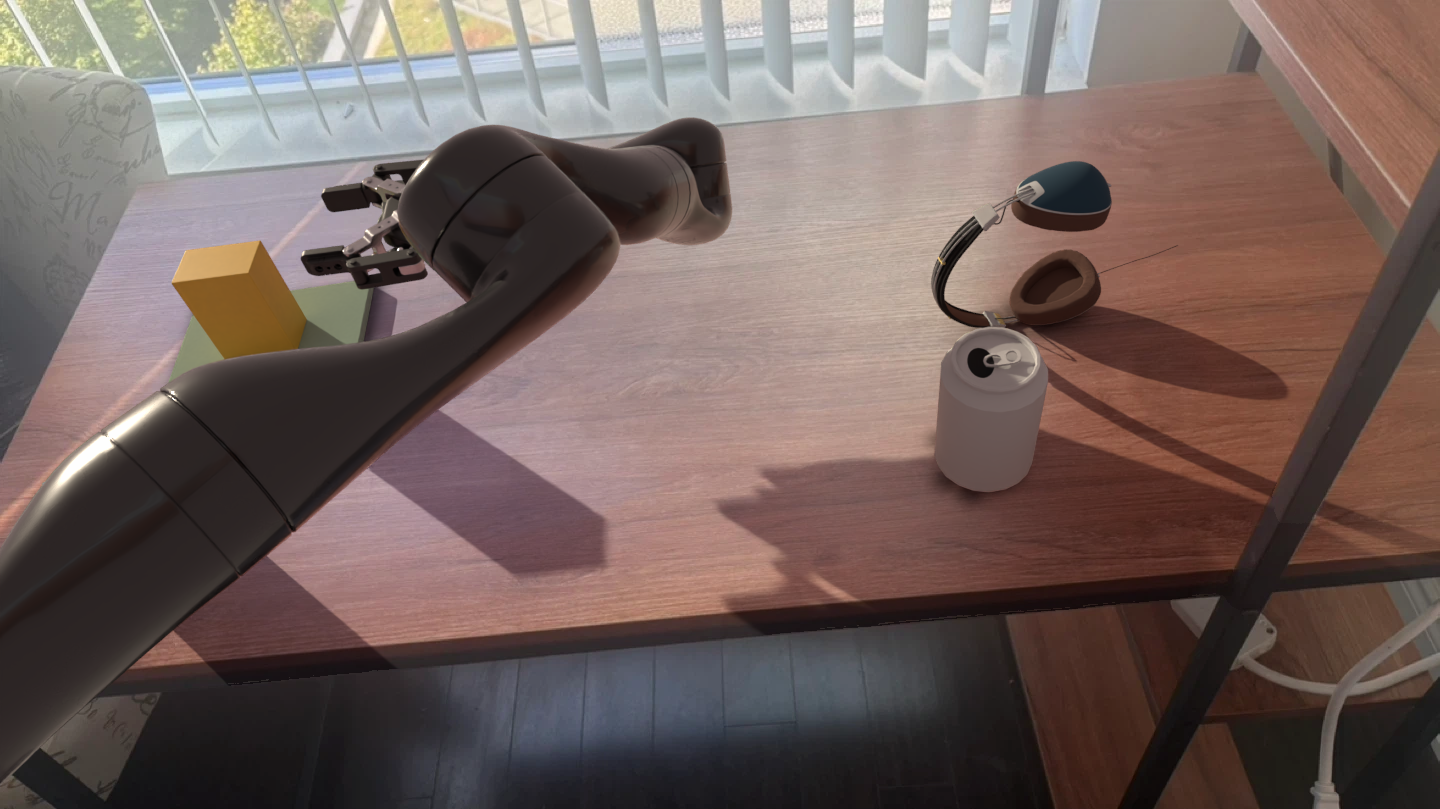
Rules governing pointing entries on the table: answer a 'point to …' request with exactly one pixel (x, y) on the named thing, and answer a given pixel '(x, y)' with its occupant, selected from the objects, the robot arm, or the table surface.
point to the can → (989, 408)
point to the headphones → (1060, 278)
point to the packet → (240, 299)
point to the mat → (329, 322)
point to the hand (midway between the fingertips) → (315, 231)
